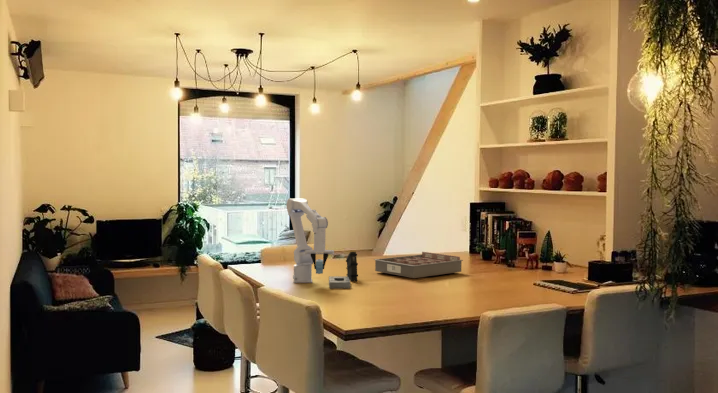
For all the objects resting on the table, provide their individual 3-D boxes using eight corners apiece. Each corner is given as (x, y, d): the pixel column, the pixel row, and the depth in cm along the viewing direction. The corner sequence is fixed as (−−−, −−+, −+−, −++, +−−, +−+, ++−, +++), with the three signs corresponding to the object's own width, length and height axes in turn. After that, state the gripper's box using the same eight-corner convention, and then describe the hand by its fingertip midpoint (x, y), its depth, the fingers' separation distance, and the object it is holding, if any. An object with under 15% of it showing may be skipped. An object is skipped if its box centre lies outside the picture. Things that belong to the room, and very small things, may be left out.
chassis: (329, 288, 295) (329, 282, 295) (328, 282, 313) (328, 276, 313) (350, 288, 295) (350, 282, 295) (348, 282, 313) (348, 276, 313)
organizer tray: (373, 273, 345) (373, 255, 344) (422, 267, 370) (422, 251, 370) (413, 281, 320) (413, 262, 320) (463, 274, 346) (463, 256, 346)
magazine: (352, 279, 312) (349, 251, 318) (347, 286, 324) (344, 259, 330) (359, 279, 313) (356, 251, 319) (354, 286, 325) (351, 259, 331)
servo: (315, 274, 296) (316, 261, 295) (315, 270, 306) (315, 258, 306) (322, 274, 296) (323, 261, 296) (322, 271, 306) (322, 258, 306)
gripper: (304, 242, 296) (304, 270, 297) (334, 242, 297) (334, 270, 298) (305, 240, 303) (304, 268, 304) (334, 241, 304) (333, 268, 305)
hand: (319, 269), depth 301 cm, fingers closed on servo, 3 cm apart
